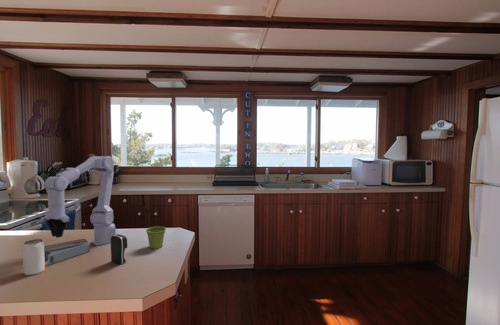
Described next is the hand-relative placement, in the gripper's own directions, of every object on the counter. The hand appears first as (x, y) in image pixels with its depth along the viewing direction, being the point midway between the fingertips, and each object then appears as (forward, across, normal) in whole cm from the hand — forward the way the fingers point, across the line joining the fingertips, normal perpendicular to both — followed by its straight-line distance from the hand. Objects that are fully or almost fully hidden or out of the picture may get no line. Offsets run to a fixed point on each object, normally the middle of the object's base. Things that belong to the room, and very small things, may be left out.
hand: (57, 236), depth 115 cm
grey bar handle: (+10, +2, +4) cm, 11 cm away
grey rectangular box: (+10, -5, +6) cm, 13 cm away
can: (+11, +4, -10) cm, 15 cm away
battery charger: (+11, +24, +12) cm, 29 cm away
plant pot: (+11, +24, +32) cm, 41 cm away
